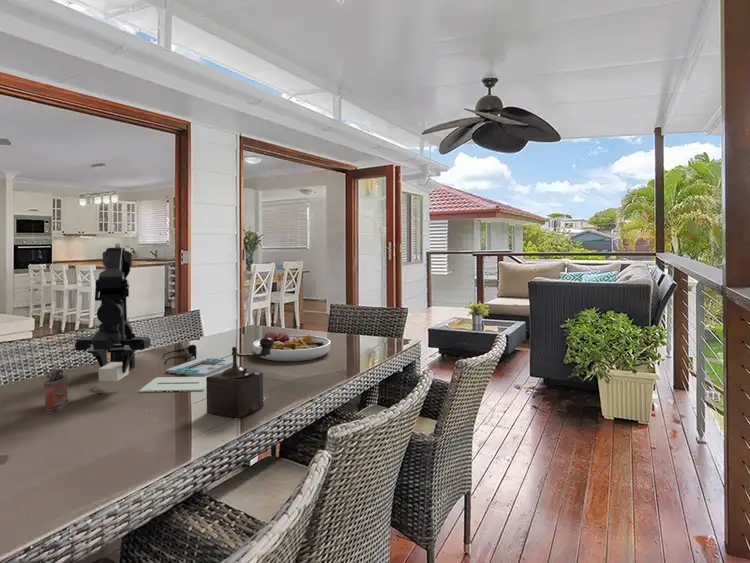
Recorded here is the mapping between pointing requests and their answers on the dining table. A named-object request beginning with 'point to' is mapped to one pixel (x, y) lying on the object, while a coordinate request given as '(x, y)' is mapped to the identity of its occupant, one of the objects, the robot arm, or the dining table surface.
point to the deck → (112, 372)
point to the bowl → (294, 347)
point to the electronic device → (208, 371)
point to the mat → (175, 384)
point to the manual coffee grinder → (237, 387)
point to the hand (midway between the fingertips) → (114, 372)
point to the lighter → (55, 391)
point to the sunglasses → (191, 352)
